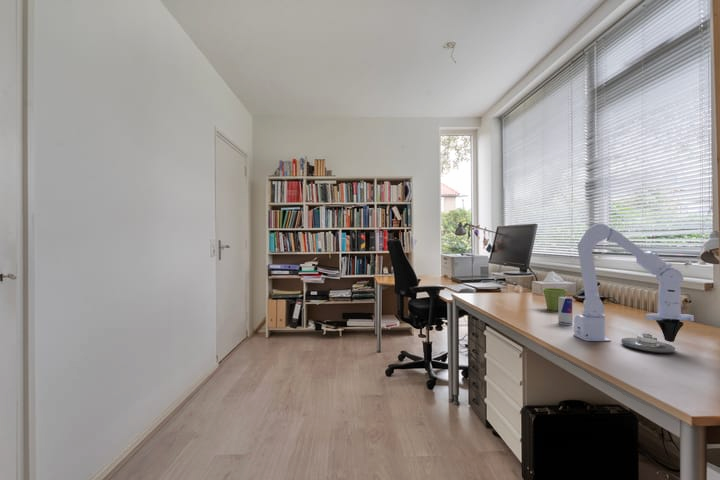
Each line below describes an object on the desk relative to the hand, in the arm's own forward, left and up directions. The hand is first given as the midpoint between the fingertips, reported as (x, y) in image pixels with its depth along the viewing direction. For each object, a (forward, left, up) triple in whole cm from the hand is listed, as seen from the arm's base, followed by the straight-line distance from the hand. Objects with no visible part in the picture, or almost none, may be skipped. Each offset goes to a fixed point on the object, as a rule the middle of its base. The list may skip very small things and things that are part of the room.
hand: (669, 341), depth 113 cm
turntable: (-8, 0, -3) cm, 8 cm away
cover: (-8, 0, -1) cm, 8 cm away
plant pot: (-5, +64, -3) cm, 64 cm away
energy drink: (-17, +33, -3) cm, 37 cm away
